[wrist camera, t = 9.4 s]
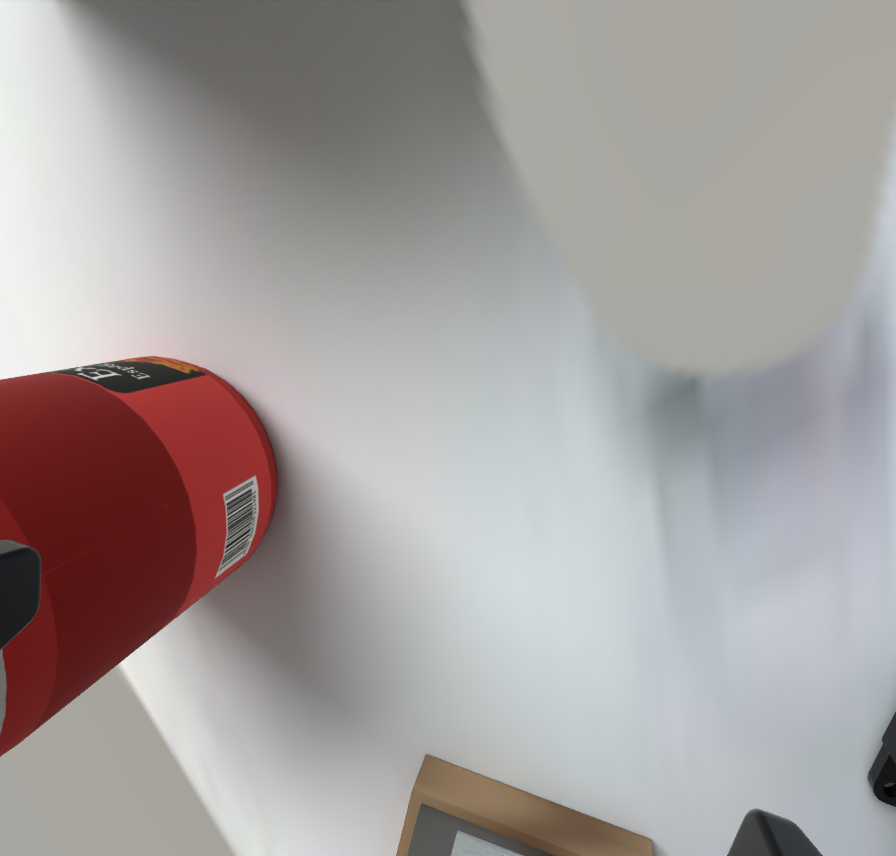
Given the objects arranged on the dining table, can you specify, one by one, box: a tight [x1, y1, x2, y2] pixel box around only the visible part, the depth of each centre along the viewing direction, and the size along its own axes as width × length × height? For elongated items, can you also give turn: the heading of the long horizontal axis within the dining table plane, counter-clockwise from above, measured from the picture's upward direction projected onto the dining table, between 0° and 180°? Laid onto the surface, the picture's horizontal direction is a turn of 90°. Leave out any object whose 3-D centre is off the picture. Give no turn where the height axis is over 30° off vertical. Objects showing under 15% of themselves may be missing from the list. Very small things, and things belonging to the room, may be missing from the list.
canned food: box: [0, 356, 277, 757], centre depth 16 cm, size 8×8×11 cm
